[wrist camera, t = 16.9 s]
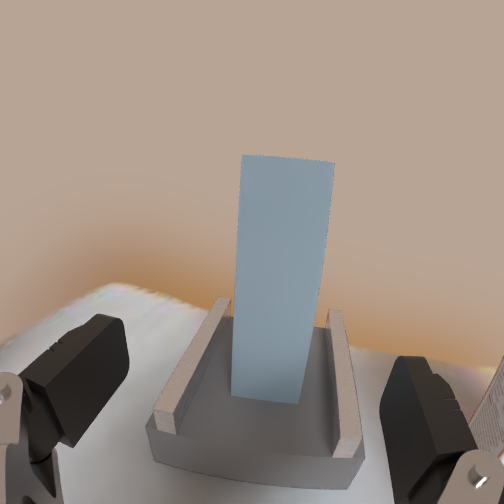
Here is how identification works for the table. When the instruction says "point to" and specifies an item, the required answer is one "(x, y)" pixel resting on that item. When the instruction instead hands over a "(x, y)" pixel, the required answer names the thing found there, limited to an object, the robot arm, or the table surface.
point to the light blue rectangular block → (278, 273)
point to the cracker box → (491, 417)
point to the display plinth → (261, 414)
